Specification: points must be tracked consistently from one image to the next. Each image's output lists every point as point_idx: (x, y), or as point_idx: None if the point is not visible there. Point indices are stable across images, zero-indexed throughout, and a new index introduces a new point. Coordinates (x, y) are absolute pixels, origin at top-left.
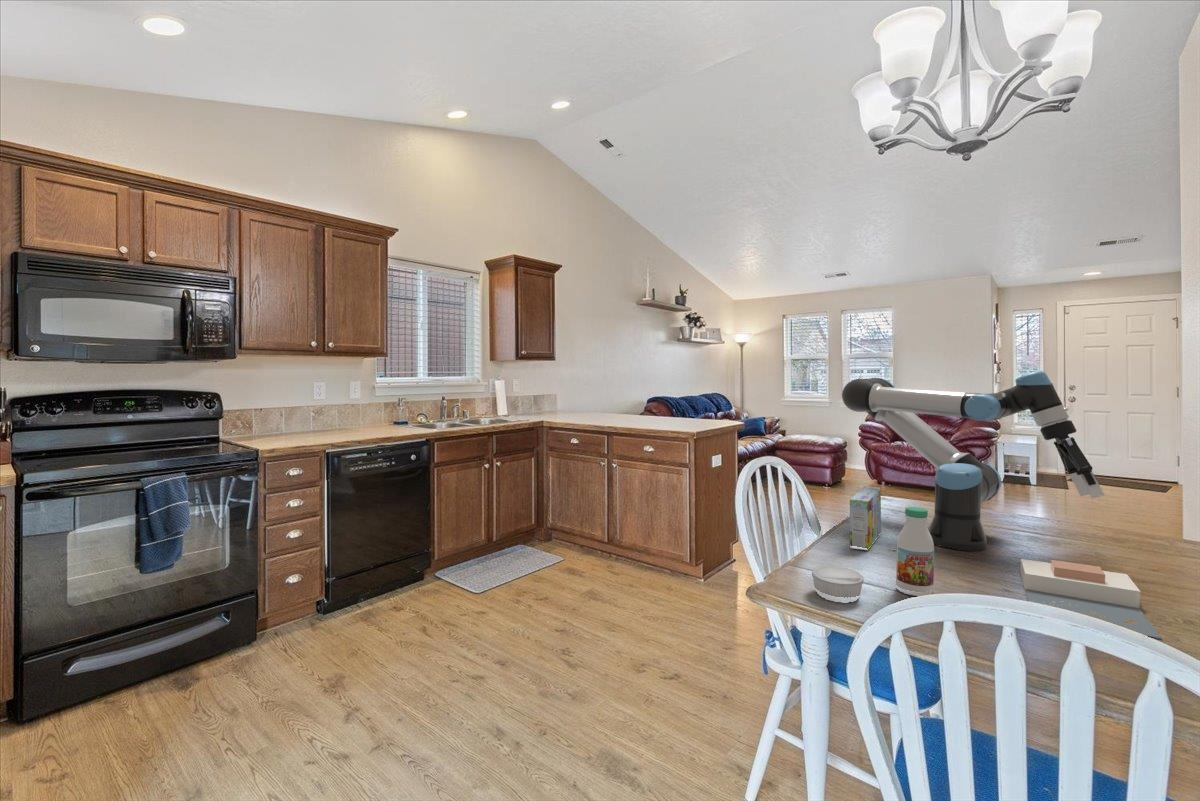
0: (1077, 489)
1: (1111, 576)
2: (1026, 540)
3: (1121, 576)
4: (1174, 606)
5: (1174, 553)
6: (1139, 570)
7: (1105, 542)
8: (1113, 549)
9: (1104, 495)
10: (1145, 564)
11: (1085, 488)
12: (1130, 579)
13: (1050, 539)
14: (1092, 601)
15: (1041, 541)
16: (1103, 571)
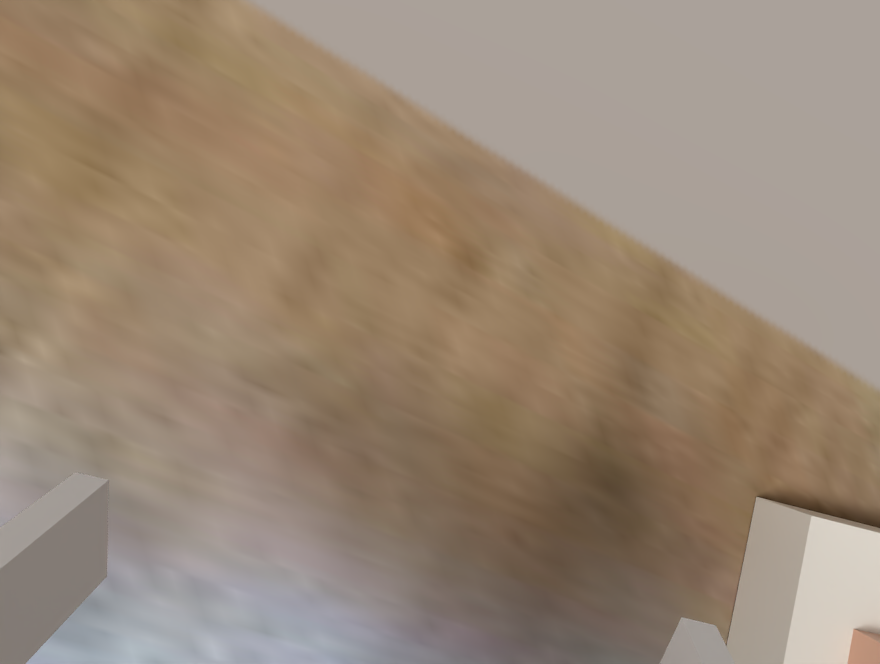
0: (36, 650)
1: (857, 588)
2: (92, 654)
3: (844, 549)
4: (851, 413)
5: (153, 5)
6: (491, 321)
7: (11, 232)
8: (159, 262)
9: (715, 627)
10: (391, 248)
11: (46, 571)
12: (869, 532)
13: None
14: None
15: None
16: (804, 593)
